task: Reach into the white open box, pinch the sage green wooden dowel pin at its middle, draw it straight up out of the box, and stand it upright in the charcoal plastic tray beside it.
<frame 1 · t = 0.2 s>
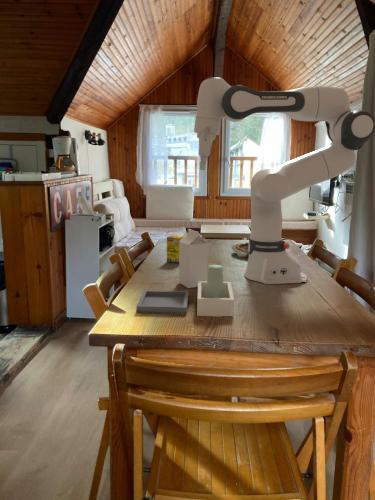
hand: (202, 169, 137), 39 cm above the table, tool pointing down, fingers open, 8 cm apart
white open box: (214, 305, 116), on the table
supplement box: (175, 261, 166), on the table
milk carton: (192, 285, 136), on the table
pie: (254, 256, 180), on the table
tray: (164, 304, 117), on the table
dowel pin: (215, 286, 115), in the white open box
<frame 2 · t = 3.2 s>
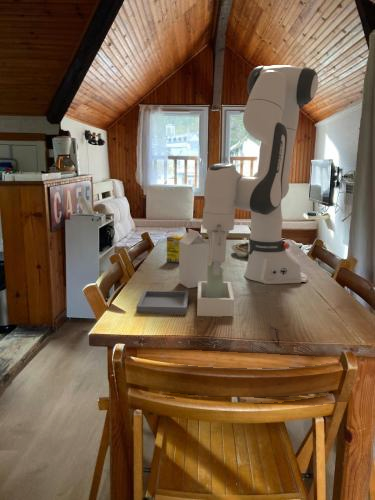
hand: (215, 269, 113), 11 cm above the table, tool pointing down, fingers open, 8 cm apart
nothing on the table moved.
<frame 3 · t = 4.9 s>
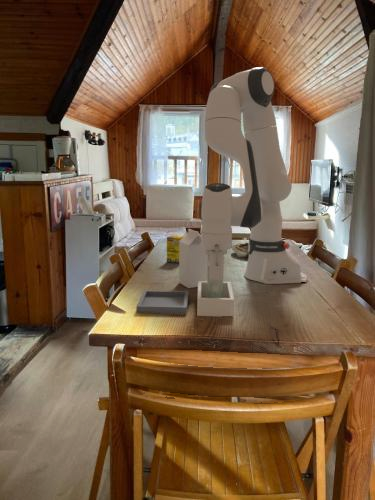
hand: (214, 287, 115), 6 cm above the table, tool pointing down, fingers closed on dowel pin, 4 cm apart
dowel pin: (215, 286, 115), in the white open box, touching gripper
everything else where it was.
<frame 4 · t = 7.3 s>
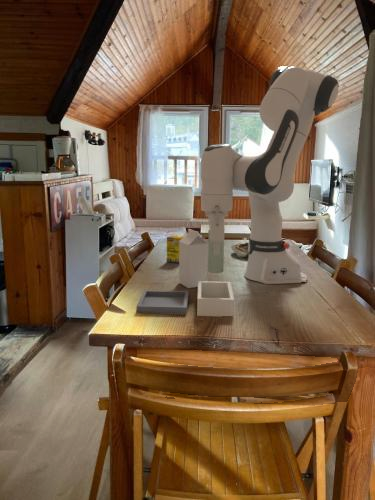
hand: (216, 252, 113), 16 cm above the table, tool pointing down, fingers closed on dowel pin, 4 cm apart
dowel pin: (216, 250, 113), point 17 cm above the table, touching gripper
everything else where it was.
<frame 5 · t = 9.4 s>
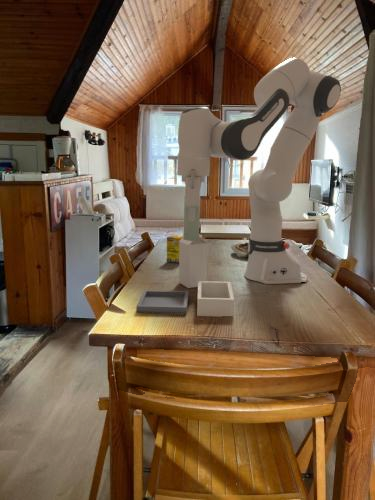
hand: (191, 219, 110), 26 cm above the table, tool pointing down, fingers closed on dowel pin, 4 cm apart
dowel pin: (191, 218, 110), point 26 cm above the table, touching gripper
everything else where it was.
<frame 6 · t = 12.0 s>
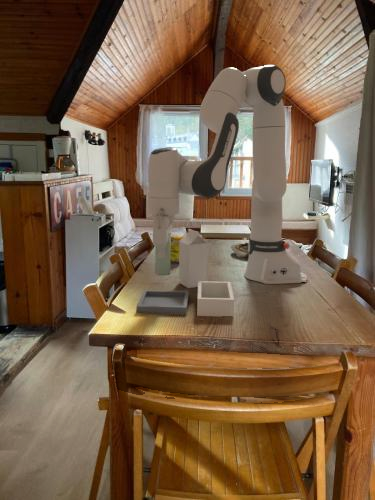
hand: (163, 254, 113), 15 cm above the table, tool pointing down, fingers closed on dowel pin, 4 cm apart
dowel pin: (162, 253, 113), point 16 cm above the table, touching gripper
everything else where it was.
when the fingers open (7 cm above the table, at t = 14.3 s): dowel pin stays where it is, resting on tray.
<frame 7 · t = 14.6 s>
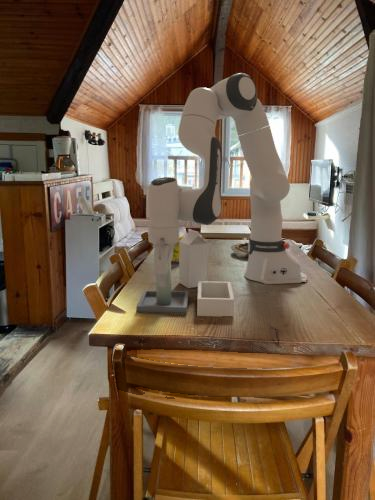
hand: (164, 281, 115), 7 cm above the table, tool pointing down, fingers open, 7 cm apart
dowel pin: (163, 283, 115), in the tray, point 7 cm above the table
everything else where it was.
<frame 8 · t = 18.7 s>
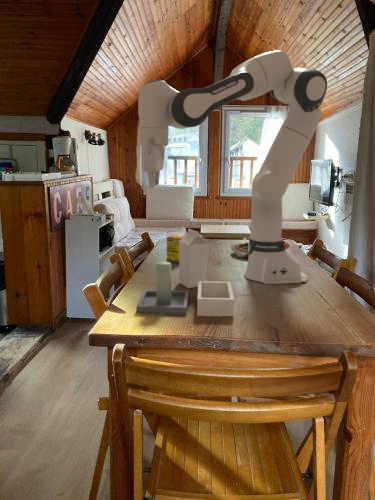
hand: (154, 186, 120), 34 cm above the table, tool pointing down, fingers open, 8 cm apart
nothing on the table moved.
at the end: dowel pin inside the target area on the tray (0.1 cm from its centre), point 6.6 cm above the tray's base; dowel pin tilted 0°; the gripper is holding nothing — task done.
